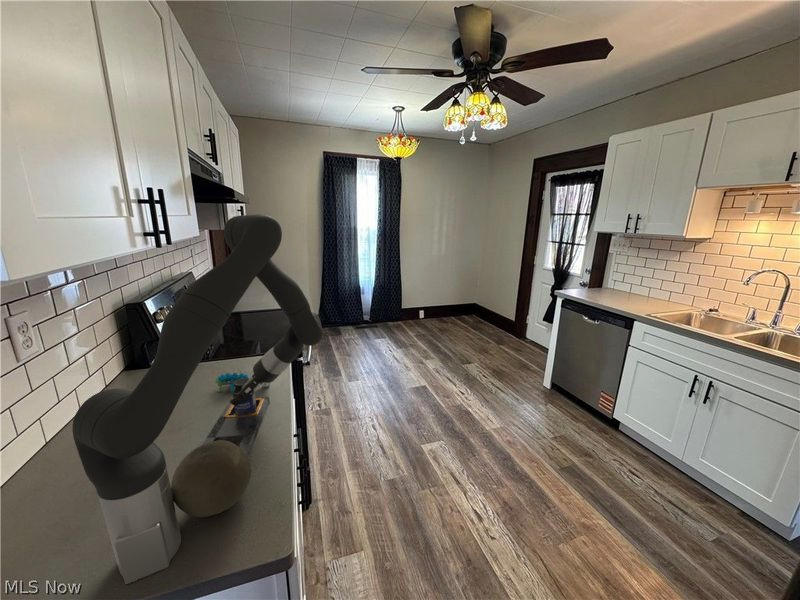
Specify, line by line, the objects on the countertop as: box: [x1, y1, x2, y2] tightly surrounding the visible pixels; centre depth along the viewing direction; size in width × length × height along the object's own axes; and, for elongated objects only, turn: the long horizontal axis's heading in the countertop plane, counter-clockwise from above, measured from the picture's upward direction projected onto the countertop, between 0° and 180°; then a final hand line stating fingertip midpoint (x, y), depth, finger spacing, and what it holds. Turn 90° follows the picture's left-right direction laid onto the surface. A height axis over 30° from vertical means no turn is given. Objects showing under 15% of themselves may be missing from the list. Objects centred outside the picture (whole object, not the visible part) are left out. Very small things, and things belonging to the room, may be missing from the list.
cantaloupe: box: [170, 440, 252, 518], centre depth 67 cm, size 14×14×15 cm
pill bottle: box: [232, 377, 257, 415], centre depth 99 cm, size 6×6×11 cm
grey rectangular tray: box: [201, 396, 271, 456], centre depth 92 cm, size 28×12×3 cm, turn 9°
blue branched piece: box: [215, 372, 250, 393], centre depth 114 cm, size 11×6×10 cm
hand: (238, 397), depth 99 cm, fingers closed on pill bottle, 6 cm apart
